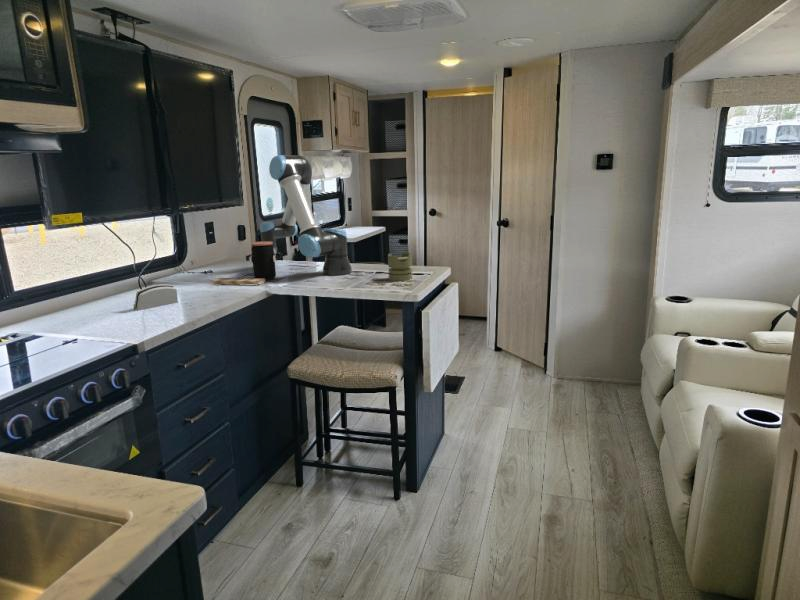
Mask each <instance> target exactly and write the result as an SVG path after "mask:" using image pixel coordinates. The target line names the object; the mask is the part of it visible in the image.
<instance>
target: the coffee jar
mask: <svg viewBox="0 0 800 600" xmlns="http://www.w3.org/2000/svg"><path fill="white" fill-rule="evenodd" d="M272 244H273V242H272V241H262V240H261V241H253V242H251V243H250V246H251V250H250V251H251V254H252V261H253V262H252V269H253V270H252V271H253V278H265V281H267V280H268V281H269V280H273V279H276V276H277V272H276V261H275V262H274V260H273V256H274V248H273V246H272Z"/></svg>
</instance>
